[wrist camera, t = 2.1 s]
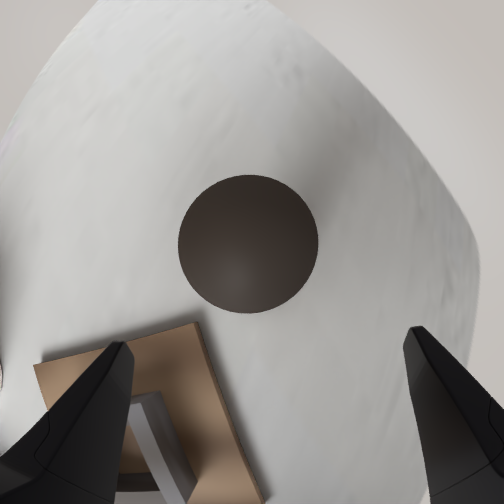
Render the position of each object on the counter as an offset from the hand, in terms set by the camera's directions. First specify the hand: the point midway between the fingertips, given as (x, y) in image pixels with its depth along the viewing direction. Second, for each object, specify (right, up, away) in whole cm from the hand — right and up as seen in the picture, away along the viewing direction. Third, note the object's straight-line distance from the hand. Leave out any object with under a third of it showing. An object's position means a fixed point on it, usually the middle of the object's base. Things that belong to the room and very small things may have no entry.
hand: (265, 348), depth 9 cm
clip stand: (-8, -10, +9) cm, 16 cm away
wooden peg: (+1, +1, +10) cm, 10 cm away
